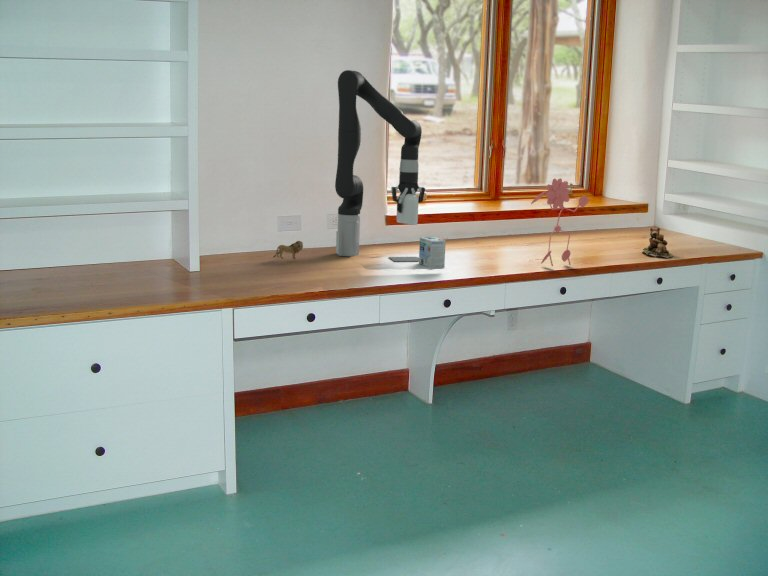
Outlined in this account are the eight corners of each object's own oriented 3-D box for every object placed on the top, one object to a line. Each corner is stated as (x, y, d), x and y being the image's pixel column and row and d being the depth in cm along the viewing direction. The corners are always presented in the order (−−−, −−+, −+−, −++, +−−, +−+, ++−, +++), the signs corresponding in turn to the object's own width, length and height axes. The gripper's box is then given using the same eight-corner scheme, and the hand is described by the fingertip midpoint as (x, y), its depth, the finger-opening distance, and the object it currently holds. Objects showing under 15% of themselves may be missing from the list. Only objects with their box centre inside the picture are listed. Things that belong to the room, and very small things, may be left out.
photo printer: (394, 222, 368) (395, 192, 366) (402, 221, 371) (403, 191, 368) (411, 225, 360) (412, 194, 358) (419, 225, 363) (420, 194, 361)
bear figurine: (640, 256, 399) (643, 229, 397) (642, 251, 413) (644, 225, 411) (673, 259, 395) (675, 231, 393) (673, 254, 409) (675, 227, 407)
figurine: (587, 264, 372) (594, 179, 365) (537, 267, 360) (543, 180, 353) (564, 258, 385) (570, 176, 378) (514, 261, 373) (520, 176, 366)
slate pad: (394, 261, 362) (394, 261, 362) (388, 257, 372) (388, 256, 372) (423, 261, 365) (423, 260, 365) (416, 257, 375) (416, 256, 375)
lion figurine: (302, 258, 365) (303, 240, 363) (302, 259, 361) (302, 241, 359) (273, 257, 364) (273, 239, 363) (272, 259, 360) (272, 241, 358)
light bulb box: (418, 263, 361) (419, 236, 359) (433, 262, 364) (434, 236, 362) (429, 268, 352) (431, 240, 349) (445, 267, 354) (446, 240, 352)
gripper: (394, 171, 356) (392, 213, 359) (428, 171, 360) (426, 213, 363) (389, 169, 363) (387, 211, 367) (423, 170, 367) (421, 211, 370)
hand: (407, 212), depth 365 cm, fingers closed on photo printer, 5 cm apart
